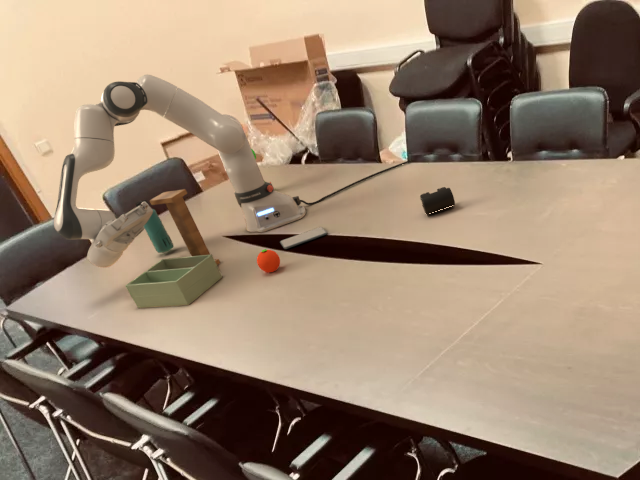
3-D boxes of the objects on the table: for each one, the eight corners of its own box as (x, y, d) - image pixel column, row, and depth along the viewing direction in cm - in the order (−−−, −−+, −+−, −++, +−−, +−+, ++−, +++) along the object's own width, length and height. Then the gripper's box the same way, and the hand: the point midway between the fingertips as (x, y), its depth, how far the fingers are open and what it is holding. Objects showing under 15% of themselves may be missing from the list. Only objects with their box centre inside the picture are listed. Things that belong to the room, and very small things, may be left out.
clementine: (260, 270, 226) (251, 249, 222) (281, 262, 228) (273, 242, 224) (263, 278, 220) (253, 257, 216) (285, 270, 221) (276, 249, 217)
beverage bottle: (170, 255, 259) (143, 203, 248) (155, 257, 261) (127, 206, 250) (179, 247, 264) (153, 196, 254) (165, 250, 266) (138, 199, 255)
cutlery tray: (138, 308, 223) (125, 285, 218) (174, 280, 236) (162, 258, 232) (188, 305, 215) (176, 281, 211) (222, 276, 229) (211, 254, 225)
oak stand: (186, 274, 238) (149, 200, 224) (199, 264, 244) (163, 192, 230) (208, 272, 235) (171, 197, 221) (220, 262, 241) (185, 189, 227)
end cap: (428, 219, 231) (422, 199, 227) (423, 213, 237) (417, 193, 233) (457, 209, 232) (451, 189, 229) (451, 203, 238) (446, 184, 234)
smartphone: (327, 232, 239) (283, 247, 235) (328, 235, 240) (285, 250, 236) (321, 226, 246) (279, 241, 242) (322, 228, 246) (280, 243, 243)
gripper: (85, 241, 216) (102, 216, 208) (130, 213, 232) (148, 189, 224) (102, 257, 218) (120, 232, 210) (146, 228, 233) (164, 204, 225)
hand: (135, 210), depth 217 cm, fingers open, 8 cm apart
